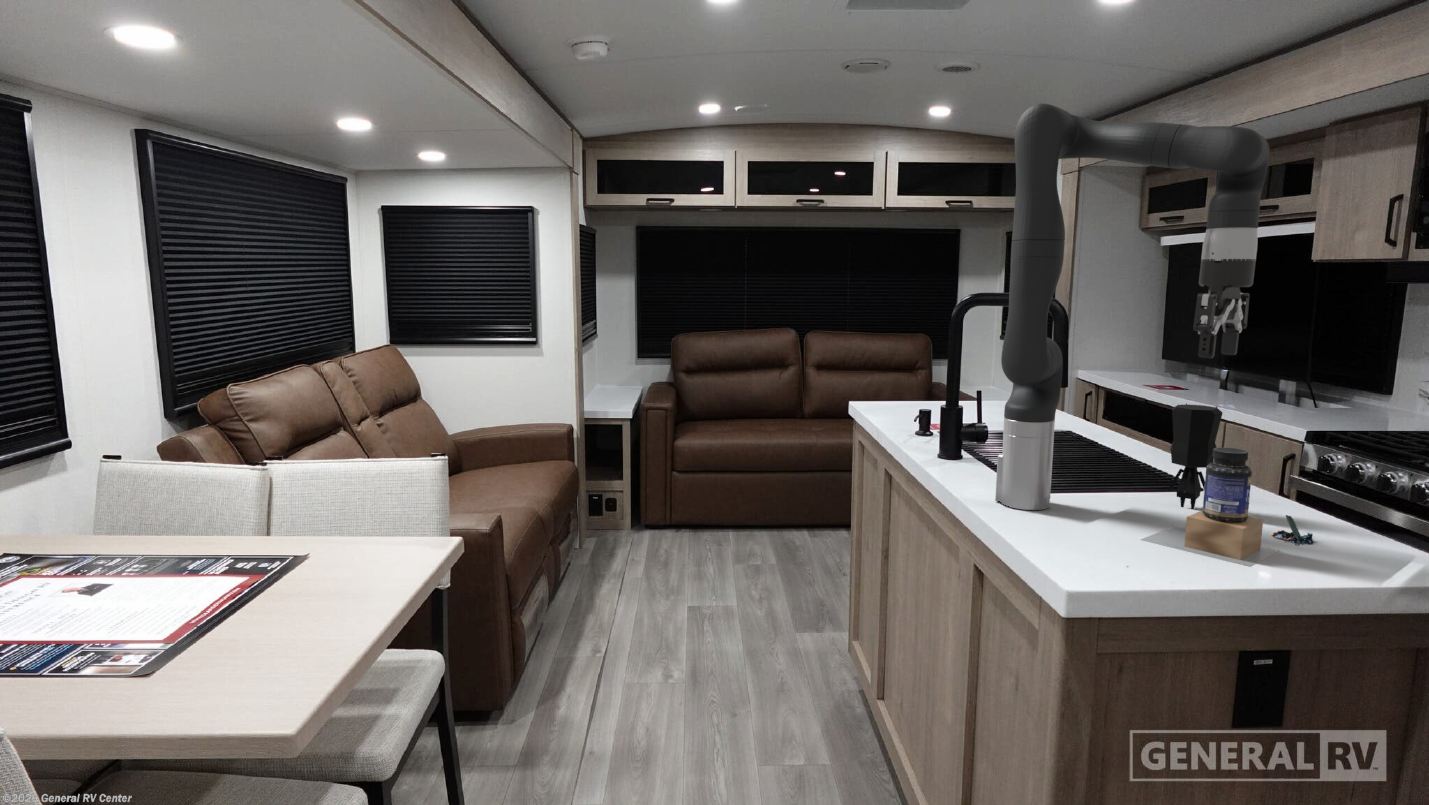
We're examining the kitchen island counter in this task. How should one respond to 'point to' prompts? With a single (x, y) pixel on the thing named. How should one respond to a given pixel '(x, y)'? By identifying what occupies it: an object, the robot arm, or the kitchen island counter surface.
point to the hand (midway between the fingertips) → (1217, 356)
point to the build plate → (1176, 540)
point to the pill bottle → (1227, 486)
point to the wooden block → (1223, 536)
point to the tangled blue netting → (1293, 534)
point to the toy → (1193, 446)
